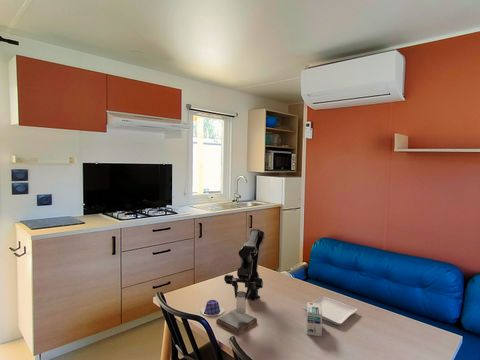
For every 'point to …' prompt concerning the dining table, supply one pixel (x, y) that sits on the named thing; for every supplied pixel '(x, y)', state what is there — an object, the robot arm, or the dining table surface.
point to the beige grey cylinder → (241, 302)
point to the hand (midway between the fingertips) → (240, 298)
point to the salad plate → (334, 310)
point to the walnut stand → (236, 321)
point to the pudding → (212, 308)
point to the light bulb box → (314, 319)
